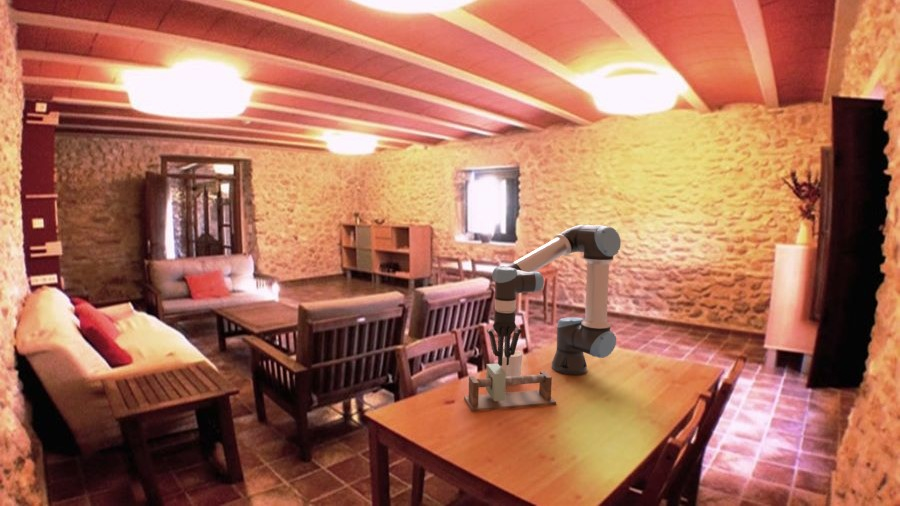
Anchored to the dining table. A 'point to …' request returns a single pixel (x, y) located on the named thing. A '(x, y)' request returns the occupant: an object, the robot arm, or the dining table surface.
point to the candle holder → (514, 364)
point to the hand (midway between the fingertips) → (502, 373)
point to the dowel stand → (511, 393)
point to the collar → (496, 382)
